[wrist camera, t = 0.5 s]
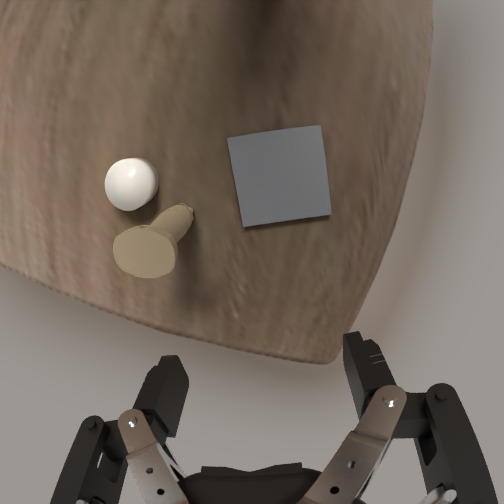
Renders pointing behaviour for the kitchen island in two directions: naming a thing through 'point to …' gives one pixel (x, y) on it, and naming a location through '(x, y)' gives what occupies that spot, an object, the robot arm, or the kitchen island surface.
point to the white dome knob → (131, 183)
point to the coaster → (280, 175)
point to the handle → (153, 243)
